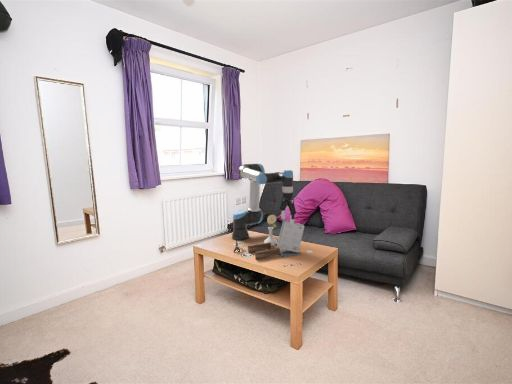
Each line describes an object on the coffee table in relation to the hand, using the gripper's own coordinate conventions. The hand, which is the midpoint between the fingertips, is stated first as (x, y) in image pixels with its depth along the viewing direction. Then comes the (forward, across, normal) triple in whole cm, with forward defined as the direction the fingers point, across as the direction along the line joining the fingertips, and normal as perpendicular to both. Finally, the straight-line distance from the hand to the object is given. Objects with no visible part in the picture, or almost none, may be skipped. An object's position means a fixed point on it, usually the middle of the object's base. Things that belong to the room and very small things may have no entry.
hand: (287, 221), depth 196 cm
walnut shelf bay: (+24, -5, -17) cm, 30 cm away
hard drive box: (+21, 0, 0) cm, 21 cm away
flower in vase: (+24, -22, -3) cm, 33 cm away
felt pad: (+24, +1, 0) cm, 24 cm away
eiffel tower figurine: (+25, -18, -33) cm, 45 cm away
